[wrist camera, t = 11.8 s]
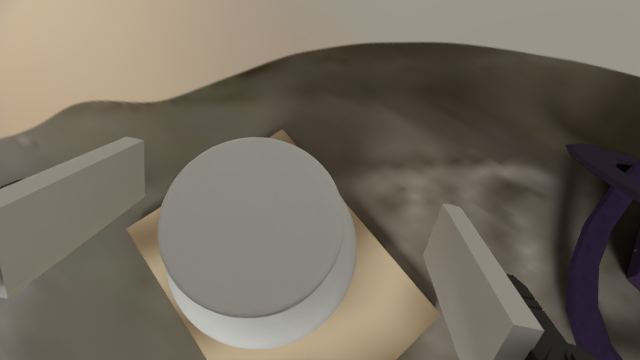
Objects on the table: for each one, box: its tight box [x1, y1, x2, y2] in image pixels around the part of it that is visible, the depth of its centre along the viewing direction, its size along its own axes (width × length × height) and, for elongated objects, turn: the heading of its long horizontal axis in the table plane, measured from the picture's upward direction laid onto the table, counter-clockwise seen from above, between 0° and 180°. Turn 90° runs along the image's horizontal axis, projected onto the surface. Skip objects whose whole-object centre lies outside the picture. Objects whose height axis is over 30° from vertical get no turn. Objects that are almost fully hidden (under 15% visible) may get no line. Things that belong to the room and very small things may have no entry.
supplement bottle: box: [158, 137, 357, 349], centre depth 14 cm, size 7×7×13 cm
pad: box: [126, 129, 441, 360], centre depth 21 cm, size 16×12×1 cm
